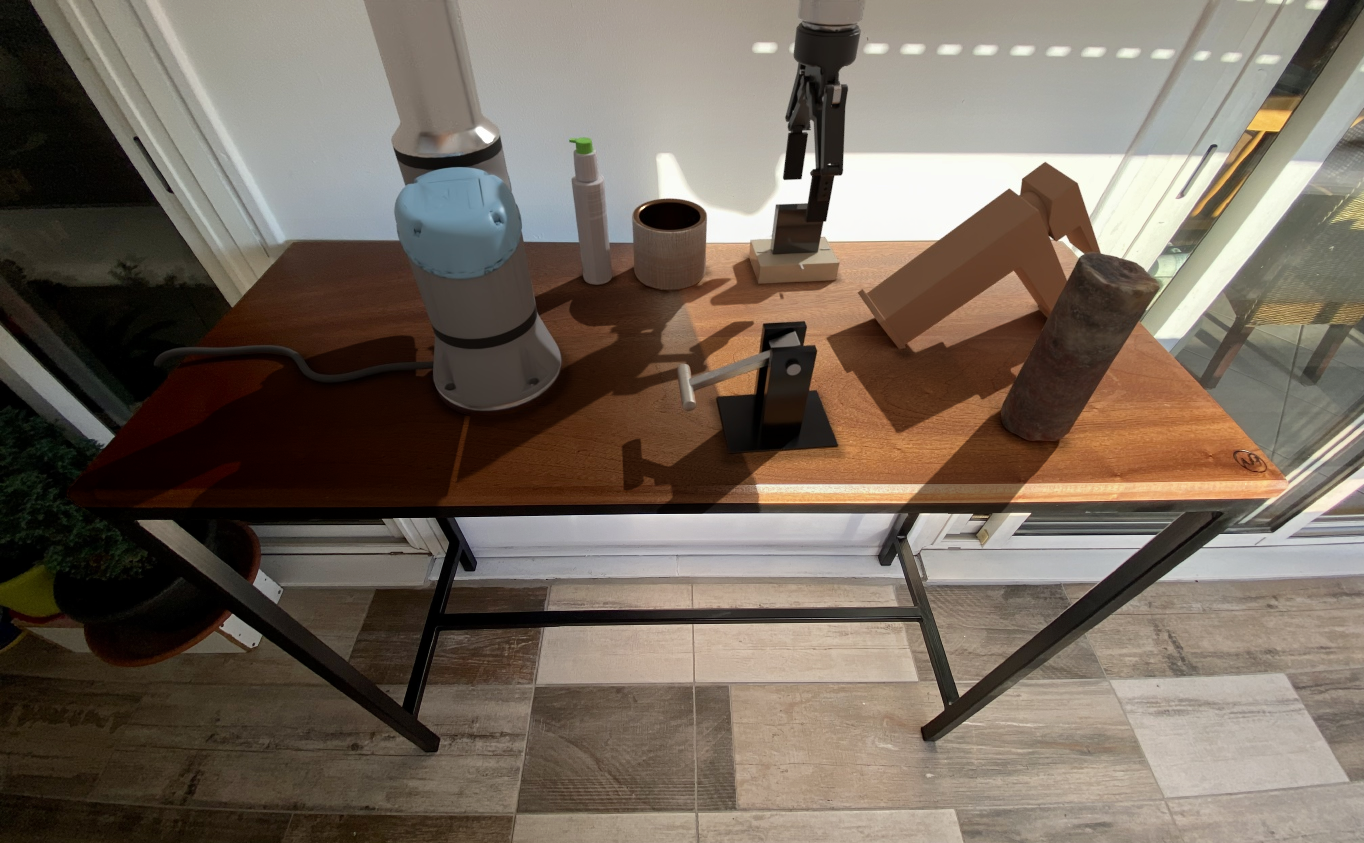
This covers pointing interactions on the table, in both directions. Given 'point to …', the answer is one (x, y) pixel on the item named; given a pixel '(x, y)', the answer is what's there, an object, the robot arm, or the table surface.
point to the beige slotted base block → (792, 263)
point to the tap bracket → (778, 401)
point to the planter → (669, 243)
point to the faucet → (988, 256)
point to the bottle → (591, 214)
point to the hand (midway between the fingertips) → (803, 198)
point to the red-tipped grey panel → (794, 230)
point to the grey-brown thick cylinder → (1077, 345)
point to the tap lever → (726, 371)
